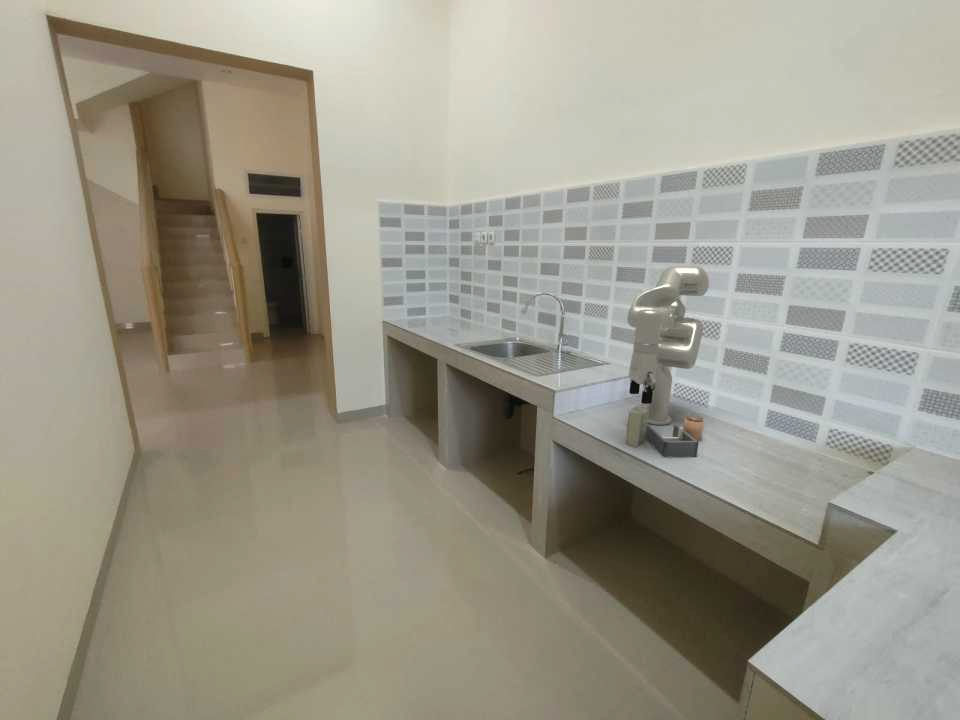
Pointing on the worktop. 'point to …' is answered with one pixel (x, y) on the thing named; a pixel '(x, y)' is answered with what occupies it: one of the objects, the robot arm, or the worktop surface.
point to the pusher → (675, 437)
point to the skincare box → (637, 426)
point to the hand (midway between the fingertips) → (639, 398)
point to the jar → (694, 426)
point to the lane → (672, 443)
